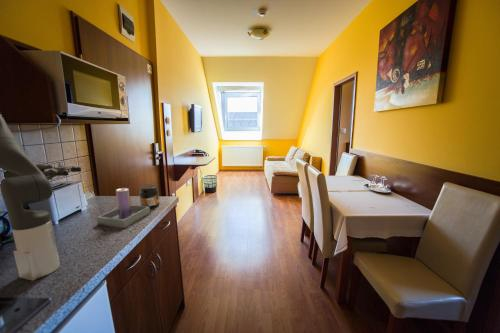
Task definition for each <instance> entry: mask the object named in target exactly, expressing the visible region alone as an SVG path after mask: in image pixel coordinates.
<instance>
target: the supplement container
mask: <svg viewBox="0 0 500 333" xmlns="http://www.w3.org/2000/svg"><path fill="white" fill-rule="evenodd" d="M139 191H140V192H139V193H138V194H139V200H140V201H139V202H140V206H147V207H150V209H153V208H157V207H158V206H159V205H160V194H159V193H160V192H159V190H158V185H156V184H146V185H143V186H140V187H139Z"/></svg>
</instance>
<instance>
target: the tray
mask: <svg viewBox="0 0 500 333" xmlns="http://www.w3.org/2000/svg"><path fill="white" fill-rule="evenodd" d="M131 210H132V215H131V216H129V217H127V218H125V219H121V218H120V217H119V213H118V207H117V208H114V209H112V210H110V211H107V212H106V213H103V214H101V215H99V216H96V221H97V225H99V226H105V227H111V228H118V229H126V228H128V227H130V226H131V225H133V224H135V223H136V222H138V221H140V220H142V219H143V218H145V217H147V216H149V215H150V214H151V208H150V207H147V206H141V205H137V204H131Z"/></svg>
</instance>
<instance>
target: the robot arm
mask: <svg viewBox="0 0 500 333" xmlns="http://www.w3.org/2000/svg"><path fill="white" fill-rule="evenodd" d="M2 116H3V115H2V113H1V114H0V168H2V169H4V170H7V171H6V172H4V177H5V179H3V180H2V181H1V184H0V192H1V197H2V199H3V203H4V205H5V208H6V212H7V215H8V220H9V223H10V228H11V231H12V235H13V239H14V244H15V250H14V251H13V256H14V260H15V264H16V268H17V272H18V276H19V279H25V280H28V281H32V282H33V281H35V280H37V279H40V278H43V277H45V276H47V275H49V274H52V273H53V272H55V271H56V270H57V269H58V268H59V267H60V265H61V263H60V258H59V252H58V247H57V243H56V237H55V233H54V228H53V223H52V222H53V221H52V218H51V213H50V212H49V211H48V210H41V209H40V210H35V209H34V210H30V209H25V208H24V206H27V205H32V204H36V203H40V202H43V201H46V200H48V199H50V198H51V197H52V196H53V187H52V185H51V182H50V181H51V180H52V179H53V178H58V177H64V176H65V177H67V176H69V174H70V173H79V172H82V167H80V166H76V167H75V166H52V164H48V163H47V164H45V163H43V164H42V163H41V164H35V163H34V161H33V160H32V159H31V157H30V156H29V155H28V153H27V152H26V150H25V148H24V147H23V145H22V144H21V142H19V140H18V139H17V138H16V136H15V134H14V133H13V132H12V131H11V129H10V128H9V126H8V123H7V122H6V120H5V118H4V116H3V117H2Z"/></svg>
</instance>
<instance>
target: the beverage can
mask: <svg viewBox="0 0 500 333" xmlns="http://www.w3.org/2000/svg"><path fill="white" fill-rule="evenodd" d="M130 193H131V192H130V190H129V188H127V187H121V188H118V189H117V188H116V189H115V197H116V205H117V208H118V213H119V217H120V218H121V219H125V218H127V217H129V216H131V215H132V210H131V205H132V202H131V195H130Z"/></svg>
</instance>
